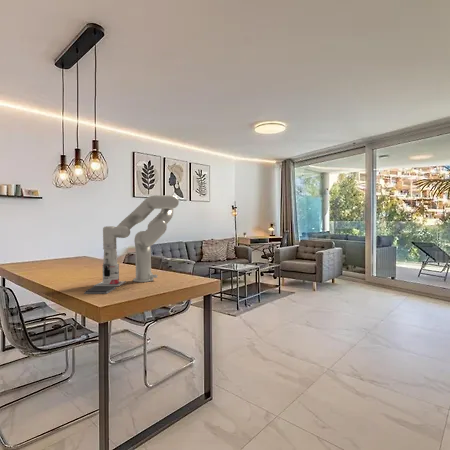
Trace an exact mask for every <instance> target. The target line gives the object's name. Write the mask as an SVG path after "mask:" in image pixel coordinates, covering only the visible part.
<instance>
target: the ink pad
mask: <svg viewBox="0 0 450 450" xmlns="http://www.w3.org/2000/svg"><path fill="white" fill-rule="evenodd" d="M116 287H117V286H94V285H93V286H92V287H90V288H89V289H88V288H87V289H86V290H85V291H84V294H85V295H95V294H96V295H98V294H99V295H100V294H101V295H104V294H105V295H107V294H109V293H111V292H112V291H114V290H116Z"/></svg>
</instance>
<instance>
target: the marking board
mask: <svg viewBox="0 0 450 450" xmlns="http://www.w3.org/2000/svg"><path fill="white" fill-rule="evenodd" d="M125 283H127V281H126V280H125V281H123V280H121V281H120V280H119V283H117V284H103V280H102V281H101V282H99V283H96V284H94V285H93V287H94V286H114V287H120V286H121V285H124V284H125Z"/></svg>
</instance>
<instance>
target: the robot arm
mask: <svg viewBox="0 0 450 450" xmlns="http://www.w3.org/2000/svg"><path fill="white" fill-rule="evenodd" d="M179 204H180V202H179V198H178V197H177V196H176V195H173V194H172V195H170V194H169V195H167V194H165V195H161V194H160V195H157V194H155V195H149V196H147V197H146V198H145V199H144V200H143V201H142V202H141V203H140V204H139V205H138V206H137V207H136V208H135V209H134V210H133V211H131V213H129V214H128V215H127V216H125V218H124V219H123V220H122V221H121V222H120V223H119V224H118V225H116V226H114V225H113V226H110V225H107V226H104V227H102V242H103V243H102V246H103V247H102V249H103V263H102V268H103V267H104V276H105V277H109V276H110V270H109V268H110V265H111V266H113V265H114V264H118V251H117V247H118V246H117V239H127V238H128V237H129V236H130V235H131V229H132V228H134V227H135V226H136V225H138V224H140V223H142V222H143V221H145V219H147V217H148V216H149V215H151V213H152V212H153V211H154V210H160V211H159V213H158V214H157V215H155V217H154V218H153V219H151V220H150V221H149V222H148V224H147V229H145V230H140V231H138V232H137V233H136V234H135V236H134V241H133V242H134V249H135V277H134V278H133V279H132V281H133V282H135V283H147V282H149V283H150V282H152V281H154V278H155V279H157V278H158V274H153V272H152V251H151V248H152V247H151V246H153V245H154V244H155V243H157V241H158V240H160V238H161V237H162V236H163V235H165V233H166V231H167V228H168V226H167V225H168V223H169V222H170V221H171V220H172V218H173V216H174V209H175V208H177V207H178V206H179ZM107 266H108V267H107Z"/></svg>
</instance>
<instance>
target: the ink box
mask: <svg viewBox="0 0 450 450" xmlns="http://www.w3.org/2000/svg"><path fill="white" fill-rule="evenodd" d="M107 267H108V266H107ZM109 270H110V276H109V277H105V276H104V267H103V266H102V281H103V284H117V283H119V281H120V266H119V263H117V264H114V265H113V266H111V265H110V268H109Z"/></svg>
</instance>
